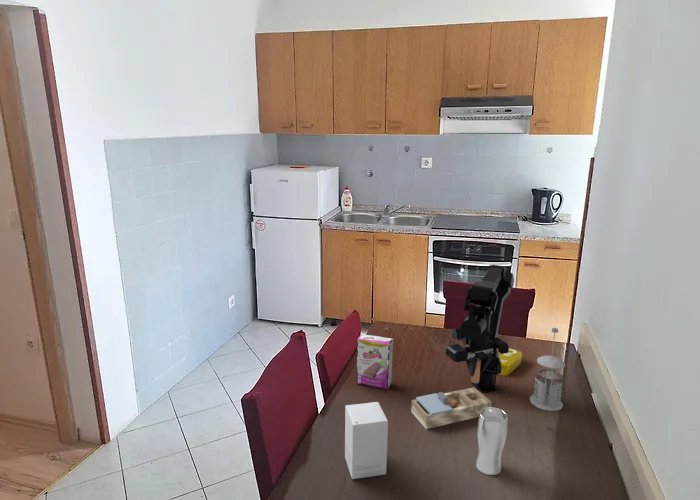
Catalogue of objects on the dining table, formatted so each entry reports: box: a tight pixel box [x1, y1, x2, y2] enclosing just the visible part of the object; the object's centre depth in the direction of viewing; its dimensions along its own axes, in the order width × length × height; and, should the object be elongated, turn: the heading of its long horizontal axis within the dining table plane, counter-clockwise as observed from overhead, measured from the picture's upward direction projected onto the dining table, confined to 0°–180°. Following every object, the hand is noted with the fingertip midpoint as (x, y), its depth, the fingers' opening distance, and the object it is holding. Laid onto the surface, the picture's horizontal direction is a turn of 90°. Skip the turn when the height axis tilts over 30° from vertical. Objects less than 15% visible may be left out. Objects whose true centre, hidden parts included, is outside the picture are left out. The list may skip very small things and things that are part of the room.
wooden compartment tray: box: [410, 386, 493, 430], centre depth 141 cm, size 22×9×4 cm, turn 111°
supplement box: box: [344, 401, 389, 480], centre depth 117 cm, size 9×9×15 cm
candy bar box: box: [355, 333, 394, 390], centre depth 156 cm, size 11×5×16 cm, turn 71°
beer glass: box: [475, 406, 509, 476], centre depth 117 cm, size 7×7×15 cm
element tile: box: [499, 347, 523, 377], centre depth 173 cm, size 15×15×5 cm
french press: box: [529, 327, 566, 412], centre depth 144 cm, size 10×12×25 cm
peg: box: [470, 358, 481, 383], centre depth 141 cm, size 2×2×7 cm
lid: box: [415, 391, 452, 415], centre depth 138 cm, size 7×9×3 cm
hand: (475, 375), depth 142 cm, fingers closed on peg, 2 cm apart
